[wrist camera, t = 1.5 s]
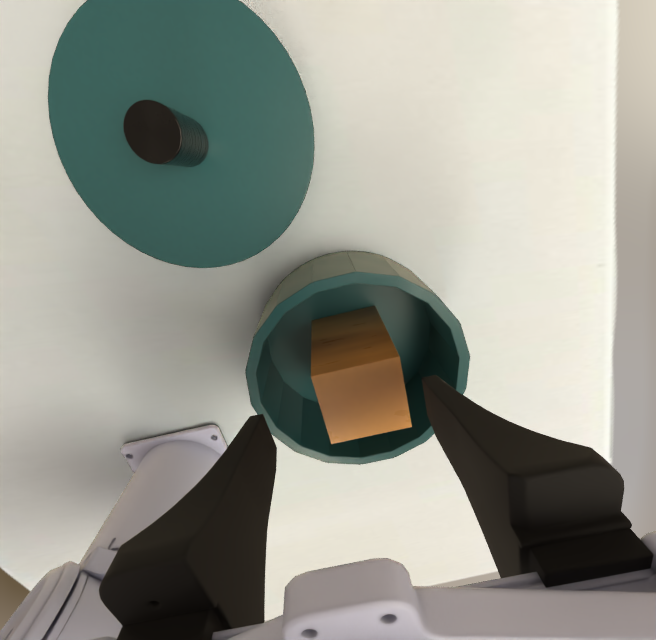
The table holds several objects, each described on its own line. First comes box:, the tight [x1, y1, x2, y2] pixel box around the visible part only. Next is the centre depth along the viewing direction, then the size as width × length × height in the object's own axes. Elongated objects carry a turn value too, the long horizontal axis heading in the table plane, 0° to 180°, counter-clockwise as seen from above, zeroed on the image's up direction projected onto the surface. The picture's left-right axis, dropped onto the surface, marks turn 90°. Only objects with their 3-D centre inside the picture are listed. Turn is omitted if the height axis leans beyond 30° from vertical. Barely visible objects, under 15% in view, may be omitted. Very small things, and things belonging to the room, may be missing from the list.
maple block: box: [311, 306, 412, 444], centre depth 20 cm, size 4×4×7 cm
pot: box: [246, 251, 470, 465], centre depth 21 cm, size 12×13×6 cm
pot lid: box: [48, 0, 314, 268], centre depth 16 cm, size 14×14×5 cm
